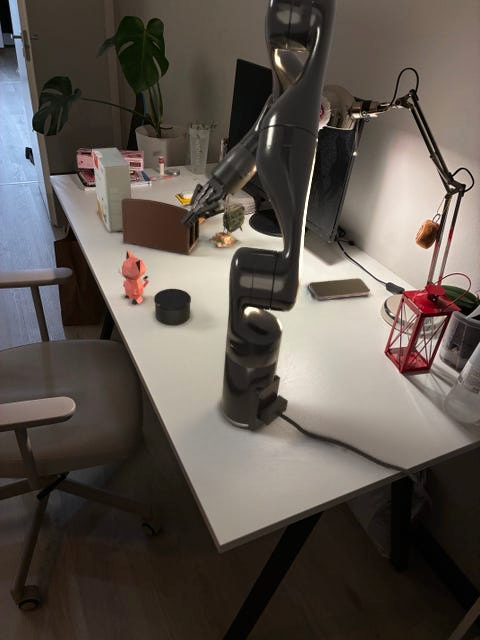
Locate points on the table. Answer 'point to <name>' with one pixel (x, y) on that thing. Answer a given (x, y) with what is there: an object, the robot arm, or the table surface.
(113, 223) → the hard drive box
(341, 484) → the table surface
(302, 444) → the table surface
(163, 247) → the letter holder
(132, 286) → the cat figurine
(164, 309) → the steel tin
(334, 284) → the smartphone
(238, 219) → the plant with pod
